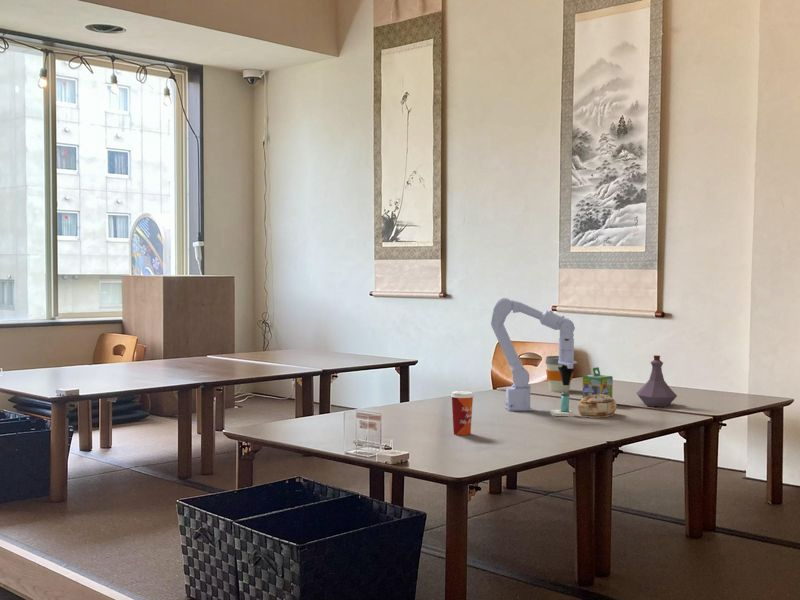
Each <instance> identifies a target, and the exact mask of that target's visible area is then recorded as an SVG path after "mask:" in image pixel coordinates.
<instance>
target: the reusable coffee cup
mask: <svg viewBox="0 0 800 600" xmlns="http://www.w3.org/2000/svg"><path fill="white" fill-rule="evenodd" d="M558 361H559V355H549V356H545V364H546V369H545V371H546V373H545V374H546V379H547V381H548V389H549V390H548V391H550V392H555V393H562V392H567V393H569V392H570V390H571V382H572V380H573V375H574V372H573V373H572V375H571V379H570V383H569V385H563V383H562V378H561V374H560V371H559V369H558V367H562V365H560V364H558ZM568 391H569V392H568Z"/></svg>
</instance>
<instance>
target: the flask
mask: <svg viewBox="0 0 800 600" xmlns="http://www.w3.org/2000/svg"><path fill="white" fill-rule="evenodd" d="M650 364H651V371H650V375H649V379H648V380H647V382H645V384H644V385H643V386H642V387H641V388H640V389H639V390H638V391H637V392H636V393H635V394H636V395H637V396H638V398H639V399H640V400H641V402H642V403H643V404H644V405H645V406H646V405H648V406H647V407H652V406H665V407H668V406H670V404H672V402H673V401H674V400H676V398H677V397H678V395H677V394H676V393H675V392H674V390H672V388H670V386H669V384H668V383H667V382H666V380H665V378H664V375H663V371H662V369H663V368H662V367H663V364H664V362H663V361H661V355H656V354H655V355H653V360H651V361H650Z"/></svg>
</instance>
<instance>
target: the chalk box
mask: <svg viewBox="0 0 800 600" xmlns="http://www.w3.org/2000/svg"><path fill="white" fill-rule="evenodd" d="M592 371H593V374H588V375H582V399H583V398H585V397H586V396H588V395H594V394H603V395H607V396H610V397H612V398H613V382H614V380H613V378H614V377H613V376H612V375H604V374H601V372H600V367H598V366H597V367H593V368H592ZM596 371H597V373H596Z"/></svg>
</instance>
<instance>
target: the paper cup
mask: <svg viewBox="0 0 800 600" xmlns="http://www.w3.org/2000/svg"><path fill="white" fill-rule="evenodd" d="M450 397H451V409H452V424H453V425H452V427H453V428H452V429H453V435H456V436H462V435H464V436H470V435H471V432H472V431H471V429H472V415H473V401H474V393H473V392H472V391H467V390H461V391H460V390H457V391H456V390H455V391H451V395H450ZM469 434H470V435H469Z"/></svg>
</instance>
